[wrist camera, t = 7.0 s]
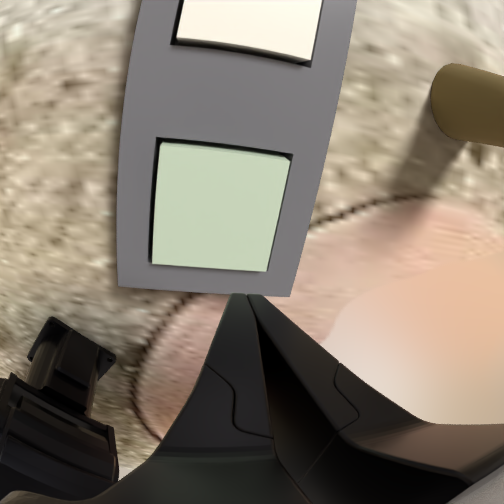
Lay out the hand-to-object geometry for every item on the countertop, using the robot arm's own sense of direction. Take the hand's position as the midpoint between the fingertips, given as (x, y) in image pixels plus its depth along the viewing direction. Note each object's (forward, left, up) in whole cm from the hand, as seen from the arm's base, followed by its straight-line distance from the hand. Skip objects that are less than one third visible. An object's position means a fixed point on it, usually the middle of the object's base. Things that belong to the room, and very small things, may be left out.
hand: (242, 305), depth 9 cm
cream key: (+9, +6, -11) cm, 15 cm away
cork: (+17, -8, -12) cm, 22 cm away
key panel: (+4, +3, -12) cm, 13 cm away
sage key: (0, 0, -11) cm, 11 cm away
